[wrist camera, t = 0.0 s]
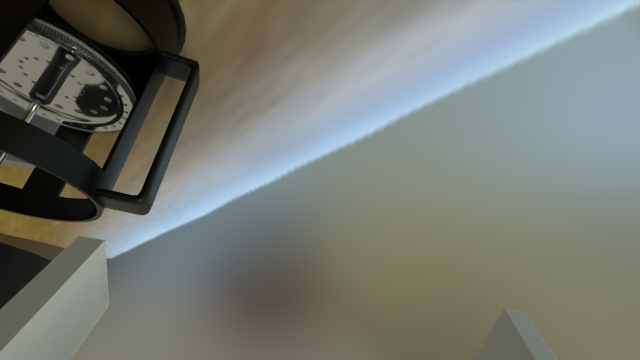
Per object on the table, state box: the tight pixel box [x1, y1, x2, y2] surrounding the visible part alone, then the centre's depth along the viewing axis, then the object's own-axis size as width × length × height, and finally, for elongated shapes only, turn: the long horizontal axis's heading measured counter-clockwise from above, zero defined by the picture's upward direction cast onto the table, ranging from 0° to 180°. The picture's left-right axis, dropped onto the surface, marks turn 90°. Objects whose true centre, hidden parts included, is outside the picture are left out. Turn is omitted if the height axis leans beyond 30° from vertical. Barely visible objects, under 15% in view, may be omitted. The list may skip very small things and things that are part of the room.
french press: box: [0, 0, 199, 309], centre depth 15 cm, size 12×9×23 cm
